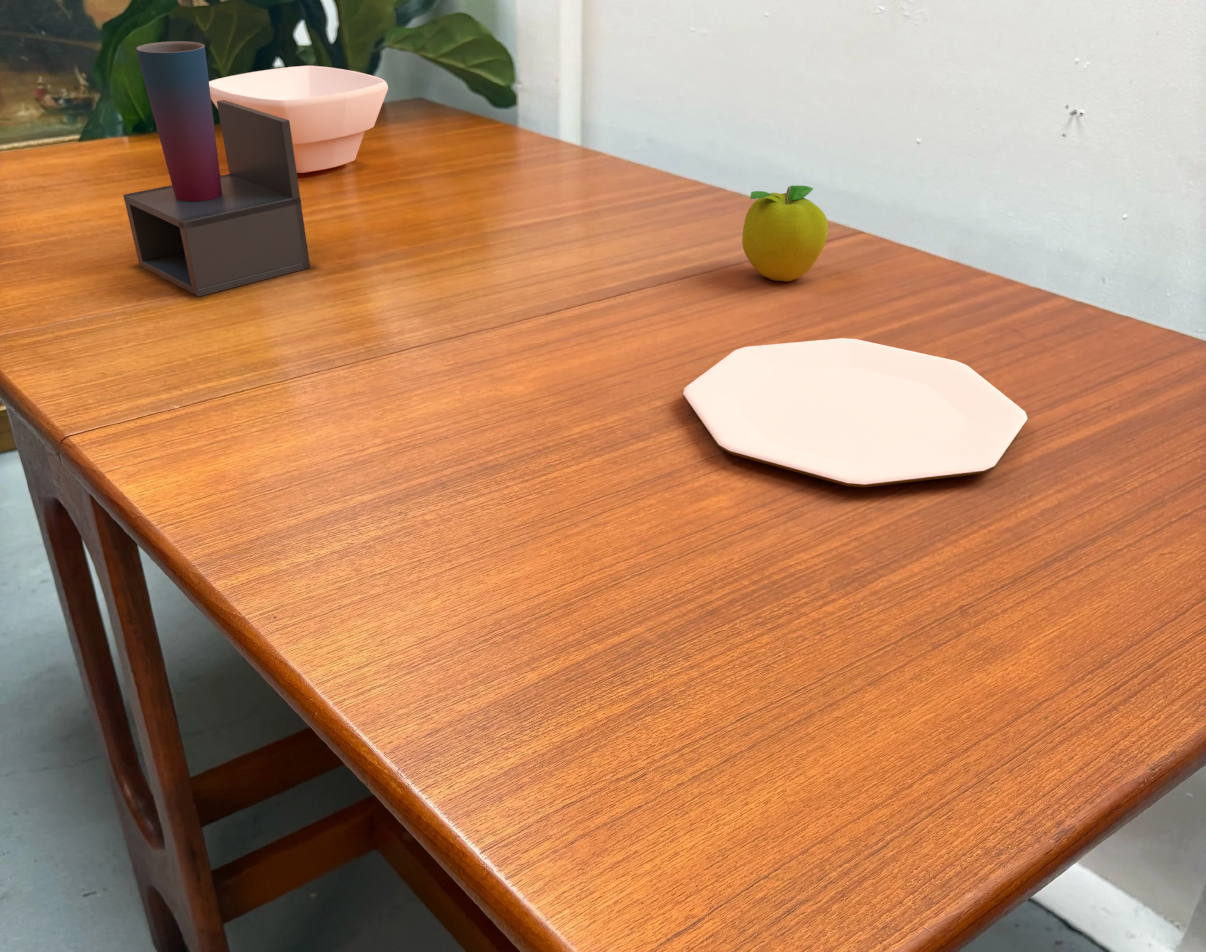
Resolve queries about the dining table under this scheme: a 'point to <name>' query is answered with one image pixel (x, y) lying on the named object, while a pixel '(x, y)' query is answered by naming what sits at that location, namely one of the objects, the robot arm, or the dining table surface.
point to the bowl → (311, 108)
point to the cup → (183, 116)
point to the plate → (855, 412)
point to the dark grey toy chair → (228, 213)
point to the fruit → (784, 233)
